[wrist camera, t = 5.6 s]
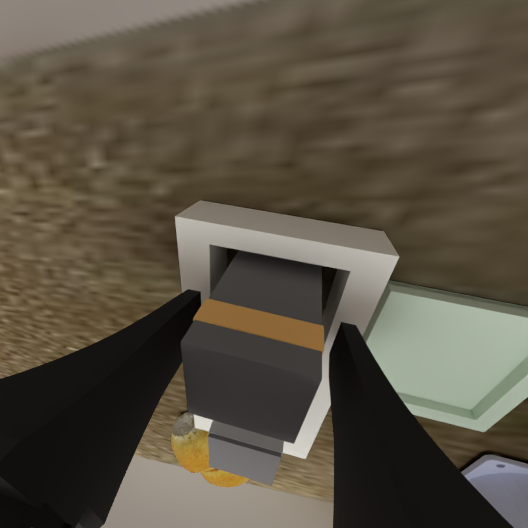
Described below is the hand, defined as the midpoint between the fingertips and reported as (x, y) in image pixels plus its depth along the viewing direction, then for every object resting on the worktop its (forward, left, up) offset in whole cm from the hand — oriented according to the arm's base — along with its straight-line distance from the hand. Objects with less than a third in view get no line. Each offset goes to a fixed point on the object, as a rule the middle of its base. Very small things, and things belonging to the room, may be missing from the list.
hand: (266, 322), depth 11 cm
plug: (0, 0, -3) cm, 3 cm away
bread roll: (+3, +20, -4) cm, 20 cm away
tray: (-10, +3, -3) cm, 11 cm away
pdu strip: (0, +5, -3) cm, 6 cm away
